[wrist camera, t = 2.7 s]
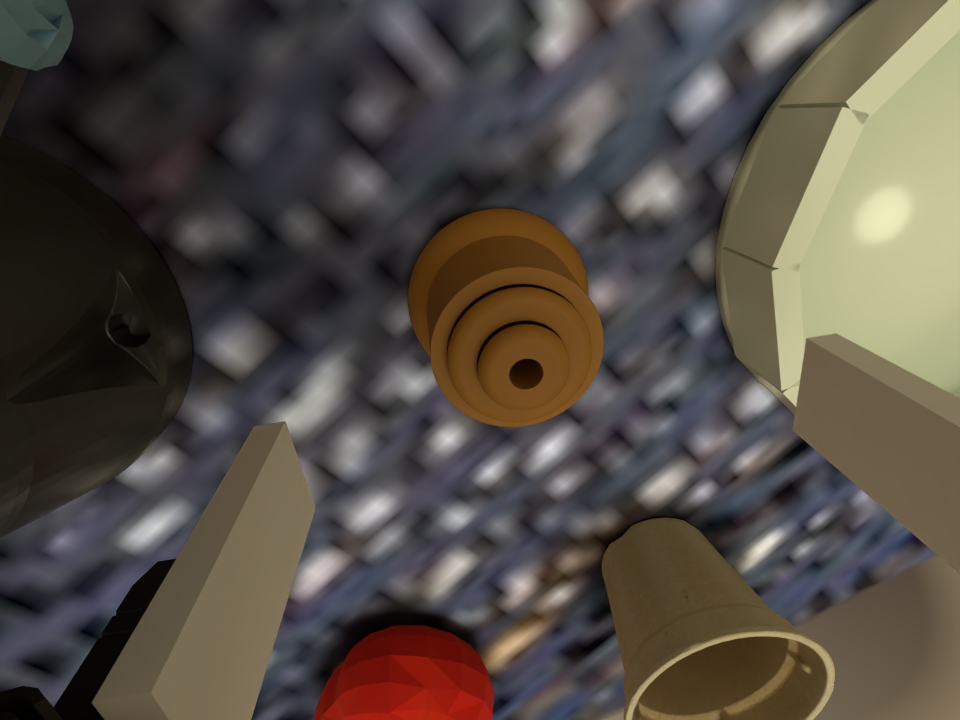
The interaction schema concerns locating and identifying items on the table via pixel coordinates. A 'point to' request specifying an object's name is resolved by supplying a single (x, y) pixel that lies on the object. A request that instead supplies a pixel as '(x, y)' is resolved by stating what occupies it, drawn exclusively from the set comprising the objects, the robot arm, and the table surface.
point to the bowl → (853, 204)
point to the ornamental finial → (506, 317)
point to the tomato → (408, 679)
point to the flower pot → (704, 635)
